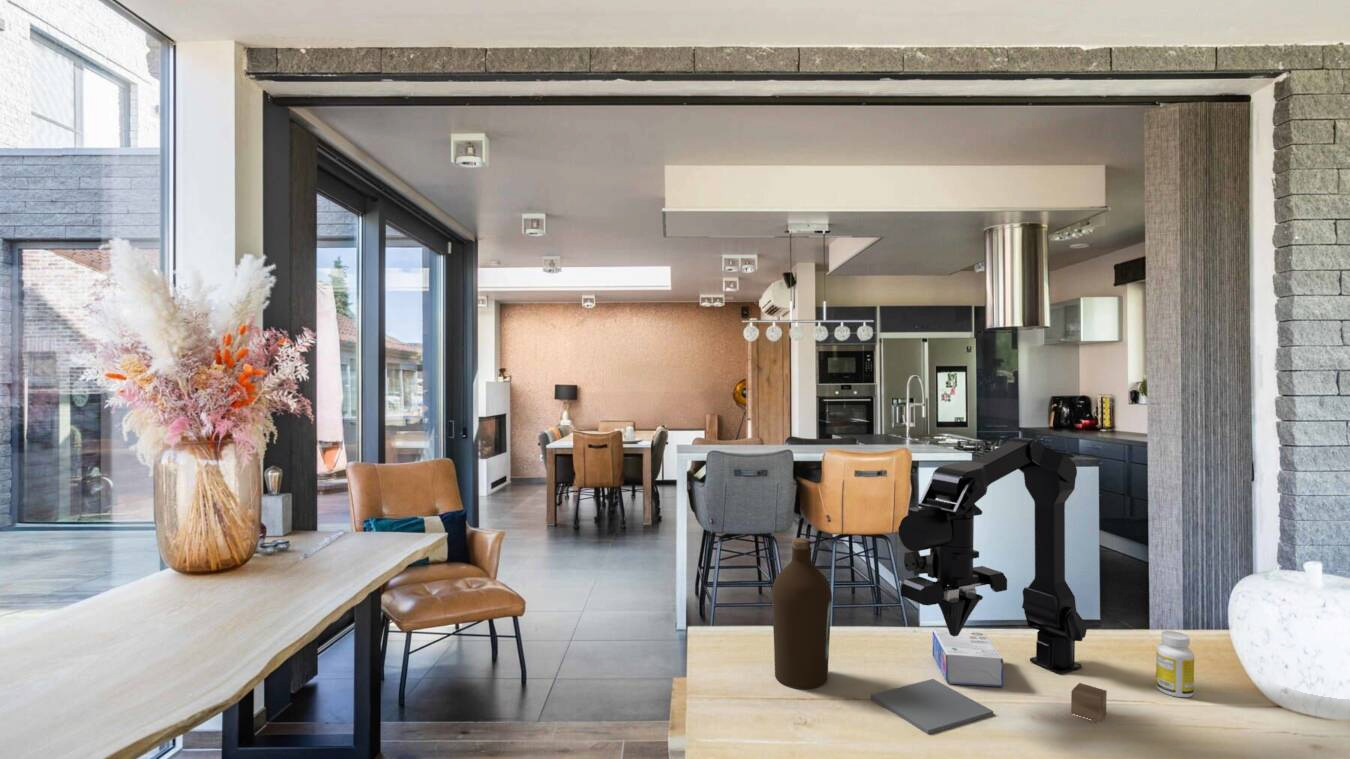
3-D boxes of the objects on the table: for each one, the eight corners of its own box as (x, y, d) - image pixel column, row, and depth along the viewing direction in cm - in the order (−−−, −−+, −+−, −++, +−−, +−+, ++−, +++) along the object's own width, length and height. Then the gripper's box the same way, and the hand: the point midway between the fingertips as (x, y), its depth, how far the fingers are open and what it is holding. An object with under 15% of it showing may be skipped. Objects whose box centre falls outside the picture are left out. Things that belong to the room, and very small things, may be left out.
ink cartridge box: (1004, 689, 127) (982, 653, 141) (1005, 658, 127) (983, 626, 141) (944, 685, 128) (928, 650, 143) (945, 654, 128) (929, 622, 142)
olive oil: (776, 691, 126) (777, 548, 125) (767, 665, 136) (767, 532, 136) (838, 690, 126) (839, 547, 125) (823, 664, 137) (824, 532, 136)
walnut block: (1079, 706, 121) (1079, 682, 120) (1106, 714, 118) (1106, 690, 118) (1071, 715, 118) (1071, 690, 118) (1098, 723, 115) (1099, 698, 115)
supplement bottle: (1189, 687, 127) (1191, 632, 127) (1197, 701, 122) (1198, 643, 122) (1153, 681, 129) (1154, 627, 129) (1158, 694, 125) (1159, 638, 124)
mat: (933, 682, 129) (933, 678, 129) (993, 714, 118) (993, 711, 118) (870, 698, 123) (870, 694, 123) (927, 734, 112) (927, 730, 112)
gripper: (958, 527, 133) (957, 611, 134) (878, 538, 125) (877, 628, 126) (1010, 541, 123) (1008, 632, 123) (926, 554, 115) (925, 652, 115)
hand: (953, 635), depth 122 cm, fingers closed
